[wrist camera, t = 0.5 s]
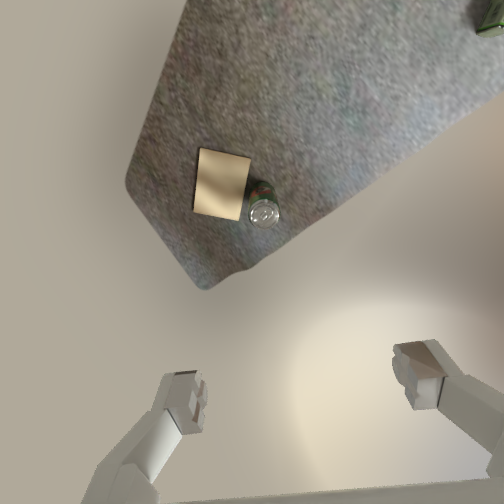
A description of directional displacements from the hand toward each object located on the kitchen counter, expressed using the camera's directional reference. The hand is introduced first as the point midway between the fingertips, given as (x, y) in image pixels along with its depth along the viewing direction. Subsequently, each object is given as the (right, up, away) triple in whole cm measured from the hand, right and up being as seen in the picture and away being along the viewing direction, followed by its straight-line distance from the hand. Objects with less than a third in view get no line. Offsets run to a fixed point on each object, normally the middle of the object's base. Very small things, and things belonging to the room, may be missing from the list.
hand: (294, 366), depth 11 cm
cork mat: (-8, +17, +39) cm, 43 cm away
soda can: (0, +16, +40) cm, 43 cm away
